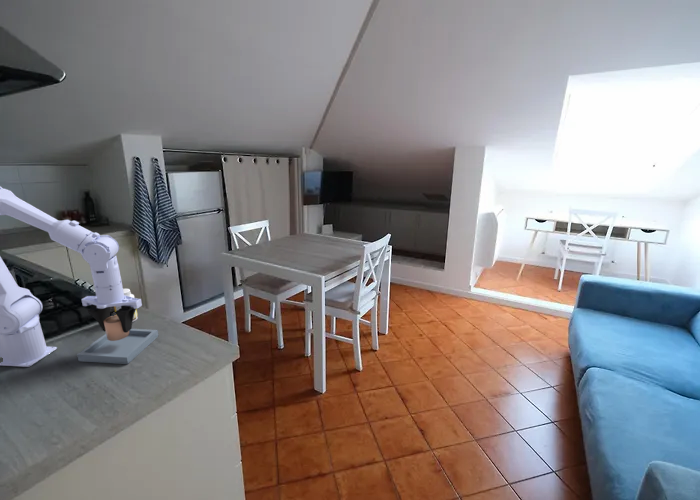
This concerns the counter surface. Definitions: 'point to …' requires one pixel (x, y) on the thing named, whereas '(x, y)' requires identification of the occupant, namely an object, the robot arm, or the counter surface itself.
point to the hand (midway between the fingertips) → (117, 329)
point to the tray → (118, 347)
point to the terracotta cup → (114, 328)
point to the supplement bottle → (128, 293)
